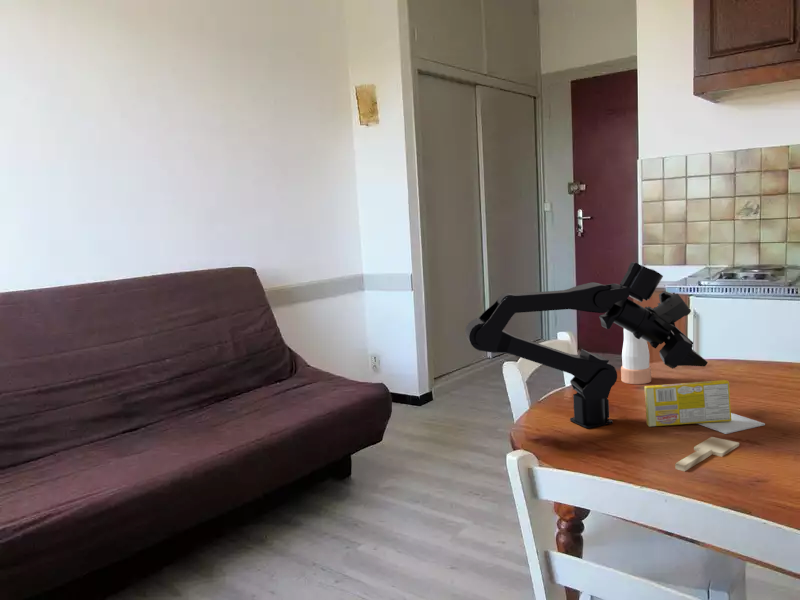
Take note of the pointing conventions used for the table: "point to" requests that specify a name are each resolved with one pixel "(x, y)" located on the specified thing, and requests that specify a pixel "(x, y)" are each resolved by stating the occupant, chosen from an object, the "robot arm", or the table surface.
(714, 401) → the candy box
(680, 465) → the wooden turner
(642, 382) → the pepper shaker
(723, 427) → the felt mat
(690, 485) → the table surface
